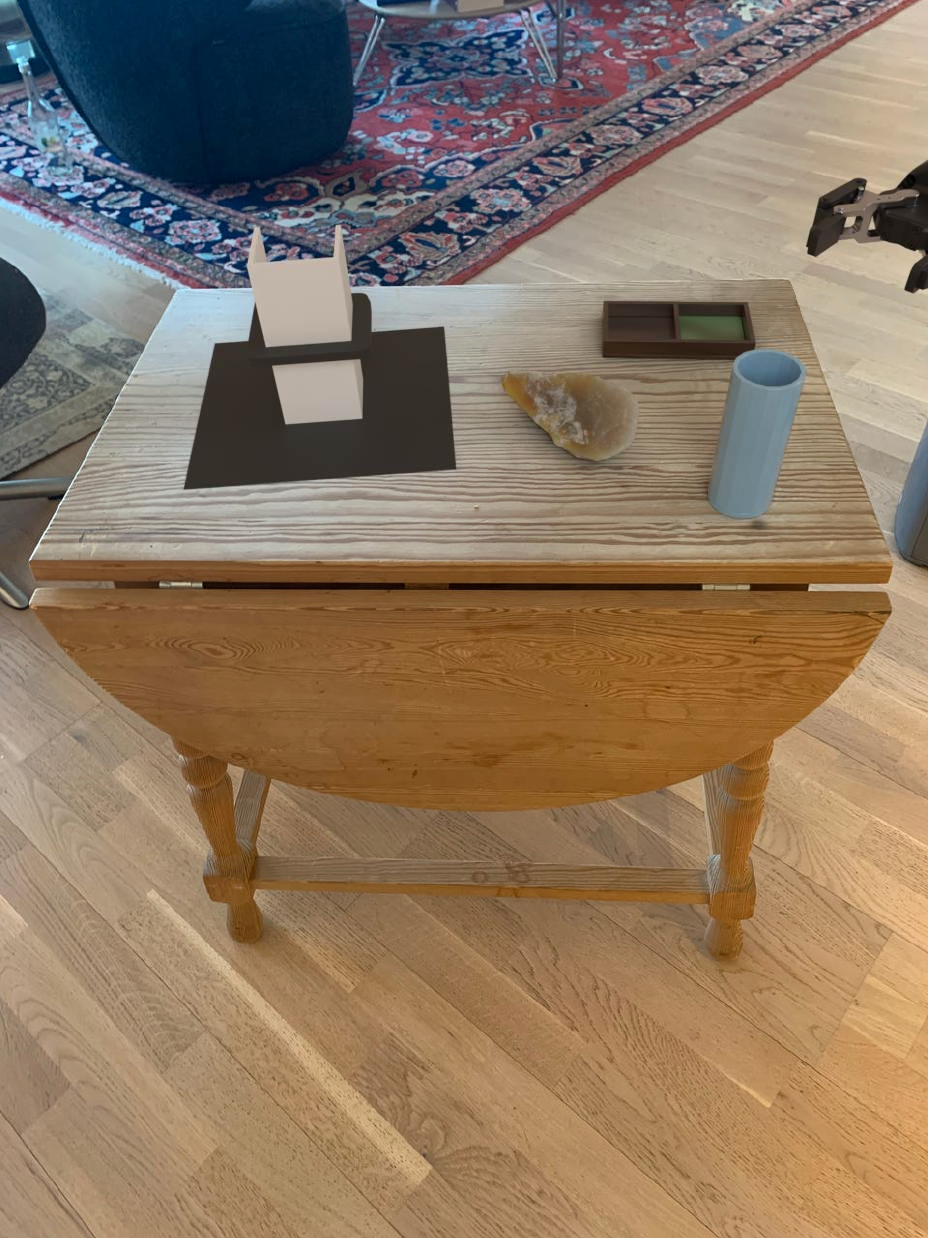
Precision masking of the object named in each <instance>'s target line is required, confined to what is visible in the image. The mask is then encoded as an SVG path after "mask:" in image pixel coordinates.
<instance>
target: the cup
mask: <svg viewBox="0 0 928 1238" xmlns="http://www.w3.org/2000/svg"><path fill="white" fill-rule="evenodd" d="M731 365H732V366H731V369H730V375H729V381H728V385H727V390H726V395H725V401H724V405H723V410H722V416H721V420H720V426H719V431H718V436H717V440H716V441H717V442H716V445H715V450H714V455H713V460H712V465H711V466H712V467H711V471H710V476H709V481H708V486H707V495H706V496H707V499H708V500H707V501H708V503H709V504H710V506H711V507H712V508H713V509H714V510H716V511H717V512H718V513H720V514H721V515H725V516H727V517H729V518H733V519H740V520H741V519H743V520H744V519H746V520H747V519H752V518H753V519H754V518H757V517H760V516H761V515H763V514H765V513H766V512H767V511H768V510H769V508H770V507H771V505H772V502H773V498H774V496H775V491H776V488H777V484H778V482H779V481H778V480H779V477H780V474H781V470H782V466H783V462H784V458H785V455H786V450H787V447H788V444H789V441H790V440H789V439H790V436H791V432H792V429H793V425H794V421H795V417H796V414H797V410H798V406H799V403H800V399H801V396H802V392H803V388H804V384H805V381H806V377H807V374H808V373H807V370H806V367H805V366H806V365H805V364H804V363H803V362H802V361H801V360H800V359H799V358H798V357H797V356H794V355H793V354H790V353H788V352H785V351H783V350H782V351H781V350H777V349H772V348H757V349H756V348H755V349H754V350H752V351H748V352H744V353H743V354H741V355H740V356H738V357H737V358H736V359H735V360H733V363H732V364H731Z"/></svg>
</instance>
